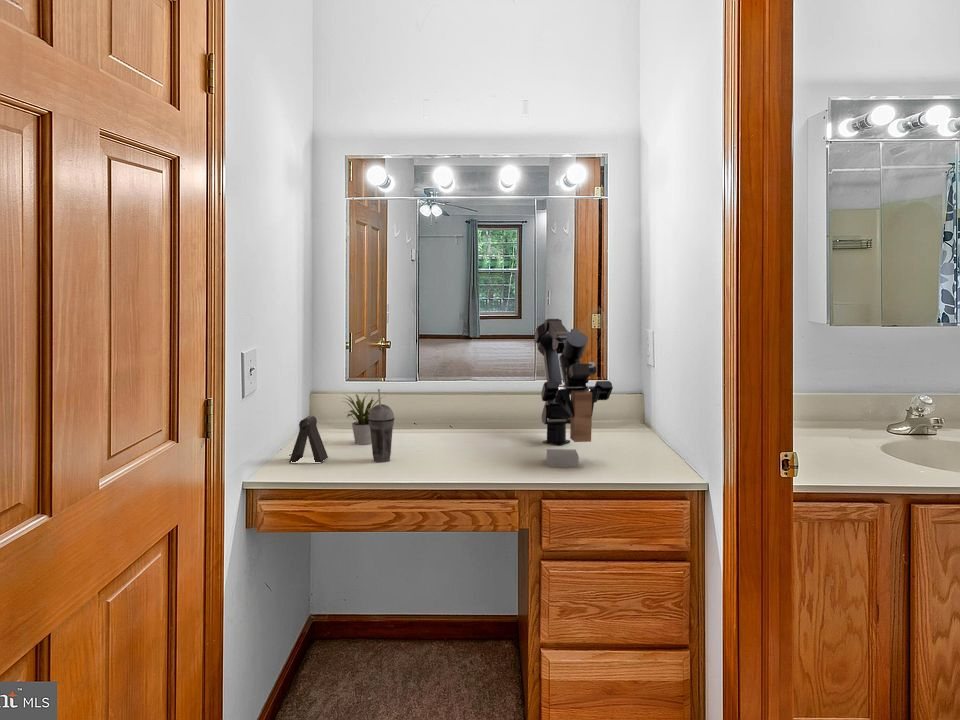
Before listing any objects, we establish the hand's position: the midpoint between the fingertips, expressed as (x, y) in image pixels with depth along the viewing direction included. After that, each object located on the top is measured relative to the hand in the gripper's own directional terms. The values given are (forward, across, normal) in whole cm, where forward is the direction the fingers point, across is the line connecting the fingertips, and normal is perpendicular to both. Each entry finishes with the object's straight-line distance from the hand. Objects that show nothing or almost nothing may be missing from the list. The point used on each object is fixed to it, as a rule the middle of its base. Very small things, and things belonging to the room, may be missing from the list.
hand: (582, 416), depth 179 cm
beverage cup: (+1, -53, +19) cm, 56 cm away
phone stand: (-1, -73, +20) cm, 76 cm away
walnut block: (+4, 0, +6) cm, 7 cm away
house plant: (-15, -60, +35) cm, 71 cm away
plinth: (+7, -4, +12) cm, 15 cm away
